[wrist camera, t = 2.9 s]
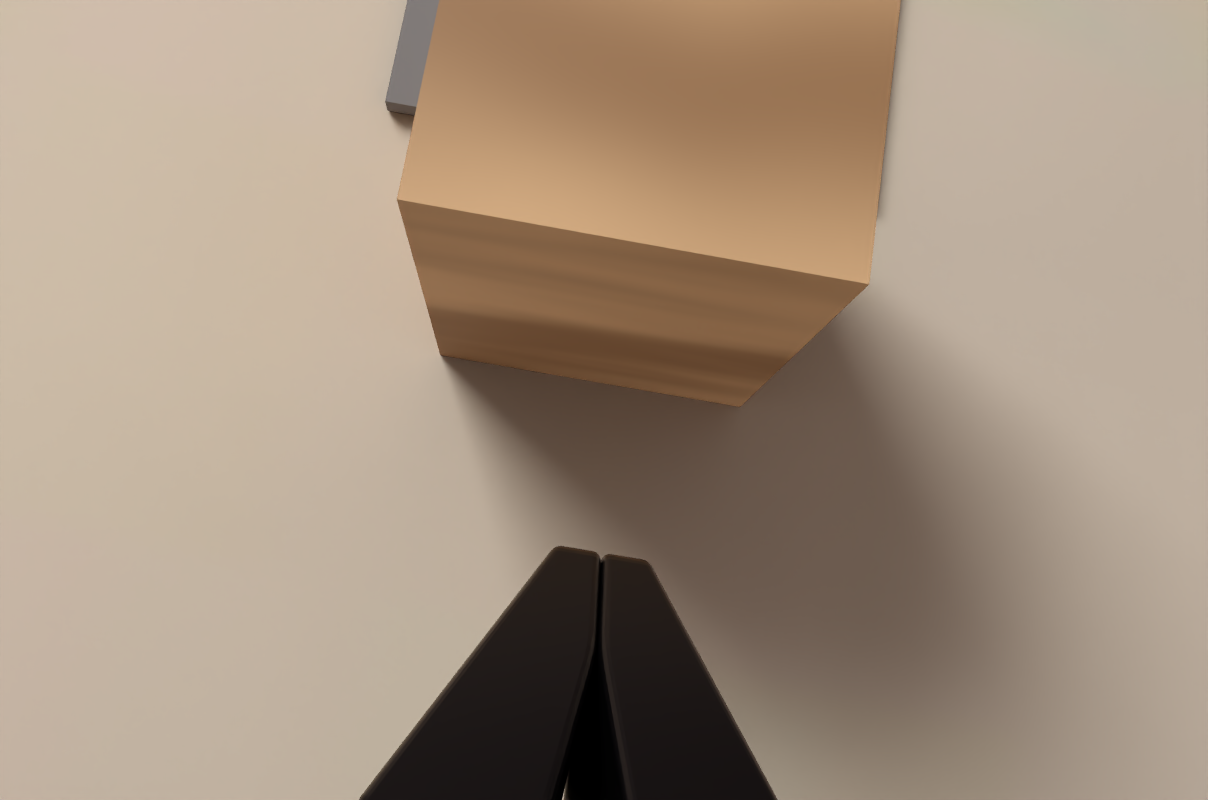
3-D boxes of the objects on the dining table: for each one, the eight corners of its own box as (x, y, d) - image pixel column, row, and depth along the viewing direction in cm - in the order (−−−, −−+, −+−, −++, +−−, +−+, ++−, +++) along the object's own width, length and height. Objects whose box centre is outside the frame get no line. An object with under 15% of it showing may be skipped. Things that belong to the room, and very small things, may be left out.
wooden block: (739, 407, 21) (869, 284, 14) (440, 355, 21) (396, 199, 13) (768, 197, 22) (903, -31, 15) (481, 145, 22) (464, -115, 14)
